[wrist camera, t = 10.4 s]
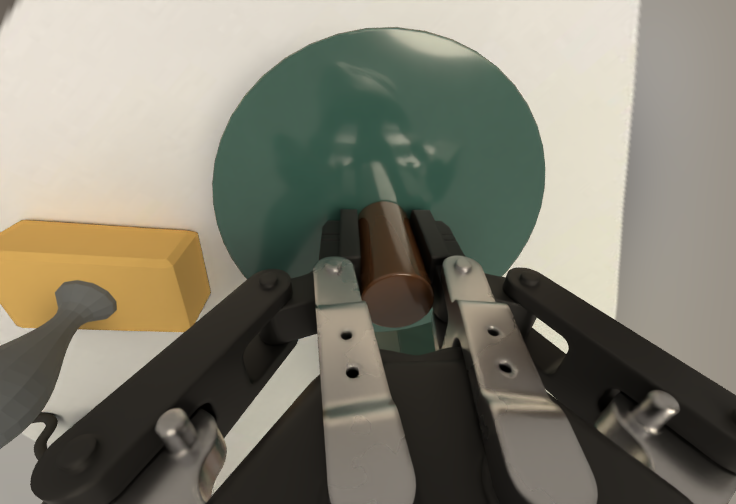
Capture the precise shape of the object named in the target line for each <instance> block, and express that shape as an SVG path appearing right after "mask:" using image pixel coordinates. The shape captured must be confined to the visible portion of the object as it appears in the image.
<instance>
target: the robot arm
mask: <svg viewBox="0 0 736 504" xmlns="http://www.w3.org/2000/svg"><path fill="white" fill-rule="evenodd" d="M410 224H411V227H412V230H413V233H414V236H415V238H416V241H417V244H418V247H419V250H420V253H421V256H422V259H423V261H424V264H425V267H426V270H427V273H428V276H429V279H430V282H431V284H432V287H433V290H434V303H433V306H432V308H433V311H432V316H431V323H432V330H433V337H434V344H435V351H433V352H430V353H426V354H422V355H410V354H405V353H400V352H395V351H389V350H384V349H379V348H378V344H377V341H376V337H375V333H374V329H373V325H372V321H371V317H370V314H369V310H368V306H367V303H366V301H362V299H361V295H360V291H359V278H360V261H361V255H360V241H359V228H358V214H357V209H340V221H327V222H326V223H325V224H324V226H323V227H322V235H321V244H320V253H319V261H317V262H316V263H315V265H314V267H313V271H311V272H310V273H308V274H306V275H303V276H299V277H295V278H290V275H289V274H288V273H287V272H285V271H283V270H279V269H267V270H262V271H260V272H257V273H255V274H254V275H252V276H251V277H250V278H249V279H247V280H246V281H245V282H244V283H243V284H242V285H240V286H239V287H238V288H237V289H236V290H234V291H233V292H232V293H231V294H230V295H228V296H227V297H226V298H225V299H224V300H222V301H221V302H220V303H219V304H218V305H216V306H215V307H214V308H213V309H212V310H211V311H209V312H208V313H207V314H206V315H205V316H203V317H202V318H201V319H200V320H199V321H197V322H196V323H195V324H194V325H193V326H191V327H190V328H189V329H188V330H187V331H185V332H184V333H183V334H182V335H181V336H180V337H178V338H177V339H176V340H175V341H174V342H172V343H171V344H170V345H169V346H168V347H166V348H165V349H164V350H163V351H162V352H160V353H159V354H158V355H157V356H156V357H154V358H153V359H152V360H151V361H150V362H149V363H147V364H146V365H145V366H144V367H143V368H141V369H140V370H139V371H138V372H137V373H135V374H134V375H133V376H132V377H131V378H129V379H128V380H127V381H126V382H125V383H123V384H122V385H121V386H120V387H119V388H118V389H116V390H115V391H114V392H113V393H112V394H110V395H109V396H108V397H107V398H106V399H104V400H103V401H102V402H101V403H100V404H98V405H97V406H96V407H95V408H94V409H93V410H91V411H90V412H89V413H88V414H87V415H85V416H84V417H83V418H82V419H81V420H79V421H78V422H77V423H76V424H75V425H73V426H72V427H71V428H70V429H69V430H67V431H66V432H65V433H64V434H63V435H62V436H60V437H59V438H58V439H57V440H56V441H55V442H54V443H52V444H51V445H50V447H49V448H48V449H47V441H48V439H49V437H50V436H51V435H52V433H53V432H54V430H55V429H56V427H57V423H58V420H57V418H56V417H55V416H54V415H52V414H49V413H40V414H39V415H38V416H37V417H36V419H35V420H34V421H33V422H32V423H36V422H44V423H45V424H46V427H45V429H44V430H43V432H42V433H41V434H40V436H39V437H38V439H37V440H36V442H35V445H34V453H35V456H36V458H37V459H38V462H37V464H36V465H35V468H34V470H33V473H32V476H31V484H30V485H31V490H32V491H33V493H34V494H35V495H36V496H37V497H38V498H40V499H41V500H43V502H42V504H728V503H729V501H730V499H731V498H732V496H733V494H734V493H735V491H736V395H735V394H733V393H731V392H730V391H728V390H726V389H725V388H723V387H722V386H720V385H718V384H717V383H715V382H714V381H712V380H710V379H709V378H707V377H706V376H704V375H702V374H701V373H699V372H698V371H696V370H694V369H693V368H691V367H689V366H688V365H686V364H685V363H683V362H682V361H680V360H678V359H677V358H675V357H674V356H672V355H670V354H669V353H667V352H666V351H664V350H662V349H661V348H659V347H657V346H656V345H654V344H653V343H651V342H650V341H648V340H646V339H645V338H643V337H641V336H640V335H638V334H637V333H635V332H633V331H632V330H630V329H629V328H627V327H625V326H624V325H622V324H621V323H619V322H617V321H616V320H614V319H613V318H611V317H609V316H608V315H606V314H605V313H603V312H601V311H600V310H598V309H597V308H595V307H593V306H592V305H590V304H589V303H587V302H585V301H584V300H582V299H581V298H579V297H577V296H576V295H574V294H573V293H571V292H569V291H568V290H566V289H565V288H563V287H561V286H560V285H558V284H556V283H555V282H553V281H552V280H550V279H548V278H547V277H545V276H544V275H542V274H540V273H539V272H536V271H534V270H531V269H528V268H513V269H511V270H509V271H508V273H507V276H506V278H505V277H500V276H495V275H490V274H486V273H484V271H483V269H482V267H481V265H480V264H479V263H478V262H476V261H475V260H473V259H471V258H468V257H465V255H464V253H463V251H462V250H461V248H460V246H459V244H458V242H457V241H456V239H455V237H454V235H453V233H452V231H451V229H450V228H449V226H447V225H446V224H445V223H443V222H442V221H435V220H434V218H433V216H432V214H431V211H430V210H412V212H411V217H410ZM536 318H538V319H540V320H541V321H542V322H544V323H545V324H547V325H548V326H549V327H551V328H552V329H553V330H555V331H556V332H557V333H559V334H560V335H561V336H563V337H564V338H565V340H566V341H567V343H568V346H569V350H568V352H567V354H565V353H564V352H563V351H561V350H560V349H559V348H557V347H556V346H555V345H554V344H552V343H551V342H550V341H548V340H547V339H546V338H545V337H543V336H542V335H541V334H539V333H538V332H537V331H536V330H534V329H533V328H532V326H533V324H534V322H535V320H536ZM314 334H318V348H319V363H320V375H319V376H317V377H316V378H315V379H314V380H313V381H312V382H311V383H310V384H309V385H308V386H307V388H306V389H305V390H304V391H303V392H302V393H301V395H300V396H299V397H298V398H297V399H296V400H295V401H294V403H293V404H292V405H291V406H290V407H289V408H288V409H287V411H286V412H285V413H284V414H283V415H282V416H281V417H280V419H279V420H278V421H277V422H276V423H275V424H274V425H273V427H272V428H271V429H270V430H269V431H268V432H267V433H266V435H265V436H264V437H263V438H262V439H261V440H260V441H259V443H258V444H257V445H256V446H255V447H254V448H253V450H252V451H251V452H250V453H249V454H248V455H247V456H246V458H245V459H244V460H243V461H242V462H241V463H240V464H239V466H238V467H237V468H236V469H235V470H234V471H233V472H232V474H231V475H230V476H229V477H228V478H227V479H226V480H225V482H224V483H223V484H222V485H221V486H220V487H219V488H218V490H217V491H216V492H215V493H214V494H213V495H212V496H211V493H212V488H213V484H214V482H215V480H216V478H217V476H218V474H219V472H220V471H221V469H222V467H223V465H224V462H225V459H226V453H227V447H226V443H225V440H224V438H225V436H226V435H227V434H228V432H229V431H230V430H231V428H232V427H233V426H234V425H235V423H236V422H237V421H238V419H239V418H240V417H241V416H242V414H243V413H244V412H245V410H246V409H247V408H248V406H249V405H250V404H251V403H252V401H253V400H254V399H255V397H256V396H257V395H258V394H259V392H260V391H261V390H262V388H263V387H264V386H265V384H266V383H267V382H268V381H269V379H270V378H271V377H272V375H273V374H274V373H275V371H276V370H277V369H278V368H279V366H280V365H281V364H282V362H283V361H284V360H285V359H286V357H287V356H288V355H289V353H290V352H291V351H292V349H293V348H294V347H295V346H296V344H297V342H298V339H300V338H304V337H307V336H310V335H314ZM545 389H546V390H547V391H548V392H549V393H551V394H552V395H553V396H554V397H555V398H554V397H553V396H552V395H550V394H549V393H548V392H546V390H545Z"/></svg>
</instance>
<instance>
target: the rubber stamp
mask: <svg viewBox="0 0 736 504" xmlns="http://www.w3.org/2000/svg"><path fill="white" fill-rule="evenodd" d="M210 293H211V292H210V287H209V283H208V278H207V273H206V269H205V264H204V260H203V255H202V250H201V246H200V241H199V237H198V233H196V232H192V231H184V230H169V229H153V228H138V227H123V226H107V225H92V224H77V223H61V222H46V221H31V220H21V221H20V222H18V223H16V224H14V225H13V226H11V227H9V228H7V229H6V230H4V231H2V232H0V304H1V305H2V307H3V308H4V309H5V311H6V312H7V313H8V315H9V316H10V317H11V319H12V320H13V321H14V323H15V324H16V325H17V326H19V327H22V328H36V329H35V330H33V331H31V332H29V333H27V334H25V335H23V336H21V337H19V338H17V339H14V340H12V341H10V342H8V343H6V344H3V345H1V346H0V449H1V448H2V447H3V446H5V445H6V444H8V443H9V442H10V441H12V440H13V439H14V438H15V437H17V436H18V435H19V434H20V433H22V432H23V431H24V430H25V429H26V428H27V427H28V426H29V425H30V424H31V423H32V422H33V421H34V420H35V419H36V417H37V416H38V415H39V414H40V413H41V411H42V410H43V408H44V407H45V405H46V404H47V402H48V400H49V398H50V396H51V394H52V392H53V390H54V388H55V385H56V382H57V379H58V376H59V373H60V370H61V366H62V363H63V359H64V356H65V353H66V350H67V348H68V345H69V343H70V341H71V339H72V337H73V335H74V334H75V332H76V331H77V329H87V330H123V331H159V332H185V331H187V330H188V329H189V328H190V327H191V326H193V325H194V324H195V322H196V320H197V318H198V316H199V314H200V312H201V310H202V309H203V307H204V305H205V303H206V301H207V299H208V297H209V295H210Z"/></svg>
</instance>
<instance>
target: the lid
mask: <svg viewBox="0 0 736 504" xmlns="http://www.w3.org/2000/svg"><path fill="white" fill-rule="evenodd" d="M212 187H213V205H214V210H215V216H216V221H217V225H218V228H219V231H220V234H221V237H222V239H223V242H224V244H225V246H226V248H227V250H228V252H229V254H230V256H231V258H232V260H233V261H234V262H235V264H236V265H237V267H238V268H239V270H240V271H241V273H242V274H243V275H244V276H245V277H246V278H247V279H249V278H250V277H251V276H252V275H254V274H255V273H257V272H260V271H262V270H267V269H279V270H283V271H285V272H287V273H288V274H289V275H290V278H295V277H299V276H303V275H306V274H308V273H310V272H311V271H313V267H314V265H315V263H316V262H317V261H319V253H320V244H321V235H322V227H323V226H324V224H325V223H326V222H327V221H340V209H357V214H358V228H359V241H360V255H361V261H360V278H359V291H360V295H361V299H362V301H366V303H367V306H368V310H369V314H370V317H371V321H372V325H373V329H374V332H388V331H396V330H402V329H408V328H412V327H416V326H420V325H423V324H426V323H429V322H431V316H432V311H433V308H432V306H433V303H434V290H433V287H432V284H431V282H430V279H429V276H428V273H427V270H426V267H425V264H424V261H423V259H422V256H421V253H420V250H419V247H418V244H417V241H416V238H415V236H414V233H413V230H412V227H411V224H410V217H411V212H412V210H430V211H431V214H432V216H433V218H434V220H435V221H442V222H443V223H445V224H446V225H447V226H449V228H450V229H451V231H452V233H453V235H454V237H455V239H456V241H457V242H458V244H459V246H460V248H461V250H462V251H463V253H464V255H465V257H468V258H471V259H473V260H475V261H476V262H478V263H479V264H480V265H481V267H482V269H483V271H484V273H486V274H490V275H495V276H500V277H502V276H503V275H504V274H505V273H506V272H507V270H508V269H509V268H510V267H511V265H512V264H513V263H514V262H515V260H516V259H517V258H518V256H519V255H520V253H521V251H522V250H523V248H524V246H525V245H526V243H527V242H528V239H529V237H530V235H531V233H532V231H533V229H534V227H535V224H536V221H537V218H538V215H539V212H540V209H541V204H542V199H543V193H544V188H545V160H544V151H543V145H542V141H541V137H540V134H539V130H538V126H537V124H536V121H535V119H534V117H533V115H532V113H531V110H530V108H529V106H528V104H527V103H526V101H525V100H524V98H523V97H522V95H521V94H520V92H519V91H518V89H517V88H516V86H515V85H514V84H513V83H512V82H511V81H510V80H509V79H508V77H507V76H506V75H505V74H504V73H503V72H502V71H501V70H500V69H499V68H498V67H497V66H496V65H494V64H493V63H491V62H490V61H489V60H487V59H486V58H485V57H483V56H482V55H481V54H479V53H478V52H476V51H475V50H473V49H471V48H469V47H467V46H465V45H463V44H461V43H459V42H457V41H455V40H453V39H450V38H447V37H443V36H440V35H437V34H433V33H430V32H427V31H422V30H414V29H407V28H399V27H385V28H365V29H360V30H354V31H349V32H344V33H339V34H336V35H333V36H330V37H328V38H325V39H322V40H319V41H317V42H314V43H311V44H309V45H307V46H306V47H304V48H302V49H300V50H298V51H297V52H295V53H293V54H291V55H289V56H288V57H286V58H284V59H283V60H282V61H281V62H279V63H278V64H277V65H276V66H274V67H273V68H272V69H271V70H269V71H268V72H267V73H265V74H264V75H263V76H262V77H261V78H260V79H259V80H258V81H257V83H256V84H255V85H254V86H253V87H252V88H251V89H250V90H249V91H248V92H247V93H246V95H245V96H244V97H243V99H242V100H241V102H240V103H239V105H238V106H237V108H236V109H235V111H234V112H233V114H232V116H231V117H230V120H229V122H228V124H227V126H226V128H225V131H224V133H223V135H222V137H221V140H220V144H219V147H218V151H217V155H216V158H215V163H214V172H213V181H212Z"/></svg>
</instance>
